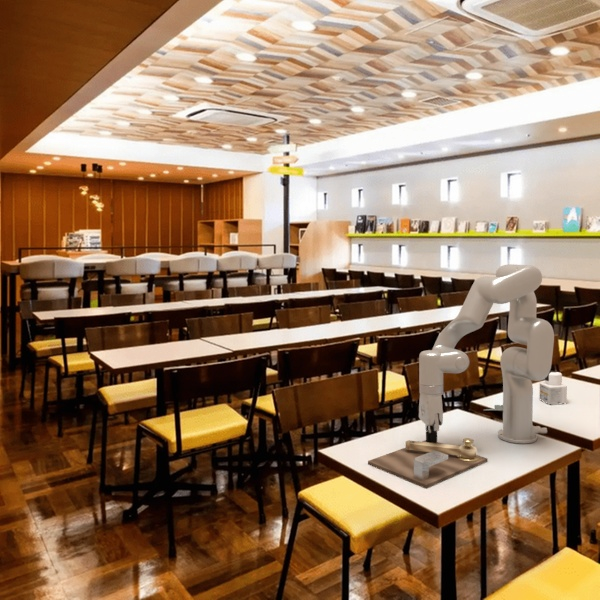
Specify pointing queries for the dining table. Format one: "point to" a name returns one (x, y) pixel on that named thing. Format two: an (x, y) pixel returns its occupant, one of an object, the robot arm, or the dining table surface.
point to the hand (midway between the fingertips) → (431, 443)
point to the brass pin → (468, 445)
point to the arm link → (442, 448)
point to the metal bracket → (496, 407)
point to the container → (553, 389)
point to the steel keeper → (427, 463)
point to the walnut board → (404, 467)
